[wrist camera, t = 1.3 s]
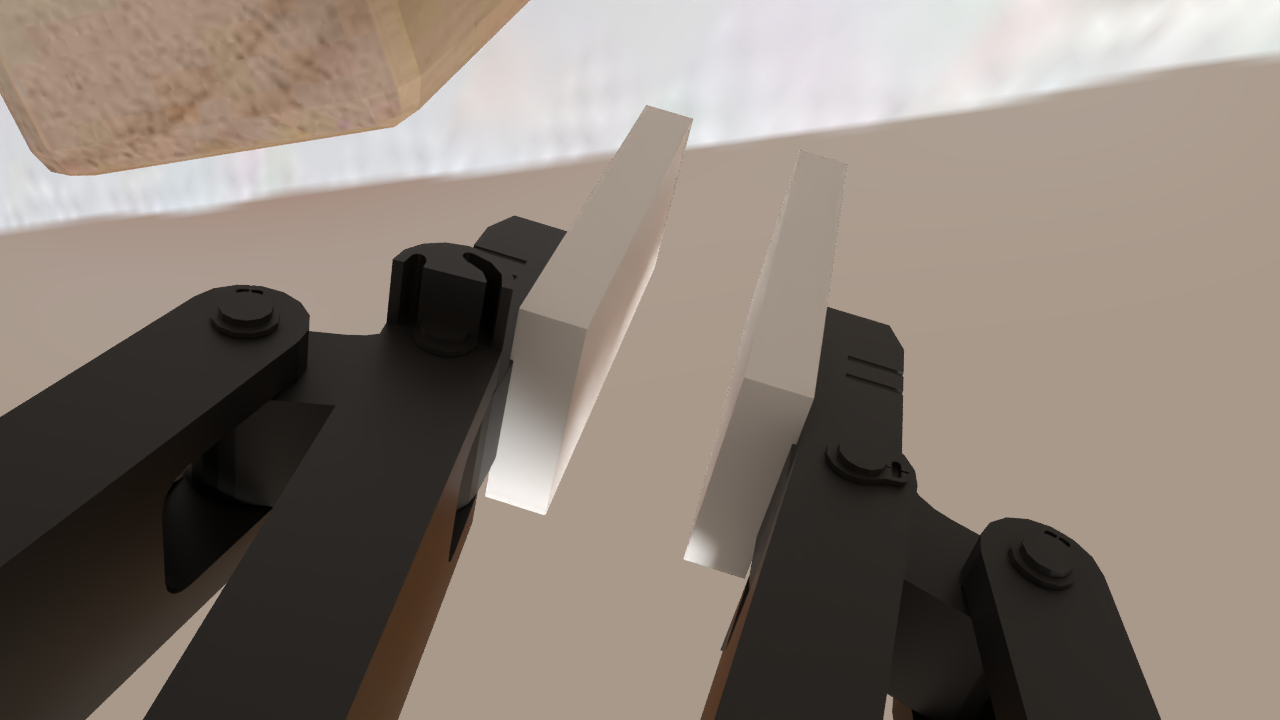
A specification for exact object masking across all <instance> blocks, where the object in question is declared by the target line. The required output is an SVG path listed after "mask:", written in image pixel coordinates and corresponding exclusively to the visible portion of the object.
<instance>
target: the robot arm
mask: <svg viewBox="0 0 1280 720" xmlns="http://www.w3.org/2000/svg"><path fill="white" fill-rule="evenodd" d="M692 121H693V119H692V118H689V117H685V116H682V115H678V114H675V113H671V112H668V111H665V110H661V109H658V108H654V107H651V106H648V105H646V107H645V108H644V110H643V112H642V113H641V115H640V116H639V118H638V120H637V121H636V123H635V124H634V126H633V128H632V129H631V131H630V132H629V134H628V136H627V137H626V139H625V140H624V142H623V143H622V145H621V147H620V148H619V150H618V151H617V153H616V155H615V156H614V158H613V159H612V161H611V163H610V165H609V166H608V168H607V169H606V171H605V172H604V174H603V176H602V177H601V179H600V180H599V182H598V184H597V185H596V187H595V188H594V190H593V191H592V193H591V195H590V196H589V198H588V199H587V201H586V203H585V204H584V206H583V208H582V209H581V210H580V212H579V214H578V215H577V217H576V219H575V220H574V222H573V223H572V225H571V226H570V228H569V230H568V231H564V230H561V229H557V228H554V227H551V226H547V225H544V224H541V223H537V222H534V221H530V220H528V219H524V218H521V217H517V216H512V217H510V218H508V219H506V220H503V221H501V222H499V223H496V224H494V225H492V226H490V227H488V228H487V229H486V230H485V232H484V233H483V234H482V235H481V237H480V238H479V239H478V241H477V242H476V243H475V244H474V247H473V248H472V247H470V246H464V245H458V244H451V243H428V244H421V245H417V246H414V247H411V248H408V249H405V250H403V251H402V252H401V253H400V254H399V255H397V256H396V257H395V258H394V259H393V263H392V273H391V283H390V294H389V303H388V313H387V323H386V325H385V326H384V328H383V329H382V331H381V333H380V334H375V335H366V336H365V335H341V334H332V333H322V332H312V331H309V317H310V315H309V314H308V312H307V311H306V309H305V308H304V307H303V305H302V304H301V303H300V302H299V301H297V300H296V299H294V298H292V297H291V296H289V295H287V294H286V293H284V292H280V291H277V290H273V289H270V288H266V287H263V286H254V285H253V286H249V285H233V286H227V287H220V288H213V289H211V290H209V291H206V292H204V293H202V294H199V295H197V296H194V297H193V298H191V299H189V300H188V301H186V302H185V303H183V304H181V305H180V306H178V307H177V308H175V309H173V310H172V311H170V312H169V313H167V314H165V315H164V316H162V317H161V318H159V319H157V320H156V321H154V322H152V323H151V324H149V325H148V326H146V327H145V328H143V329H141V330H140V331H138V332H136V333H135V334H133V335H132V336H130V337H129V338H127V339H125V340H124V341H122V342H120V343H119V344H117V345H116V346H114V347H112V348H111V349H109V350H107V351H106V352H104V353H103V354H101V355H99V356H98V357H97V358H95V359H93V360H91V361H90V362H88V363H87V364H85V365H83V366H82V367H80V368H79V369H77V370H75V371H74V372H72V373H71V374H69V375H67V376H66V377H64V378H63V379H61V380H59V381H58V382H56V383H55V384H53V385H51V386H50V387H48V388H46V389H45V390H43V391H42V392H40V393H38V394H37V395H35V396H34V397H32V398H30V399H29V400H27V401H26V402H24V403H22V404H21V405H19V406H18V407H16V408H14V409H13V410H11V411H10V412H8V413H6V414H5V415H3V416H1V417H0V720H85V719H86V718H88V717H89V715H91V714H92V713H93V712H94V711H95V710H96V709H97V708H98V707H99V706H100V705H101V704H102V703H103V702H104V701H105V700H106V699H107V698H108V697H109V696H110V695H111V694H112V693H113V692H114V691H115V690H116V689H117V688H119V686H121V685H122V684H123V683H124V682H125V681H126V680H127V679H128V678H129V677H130V676H131V675H132V674H133V673H134V672H135V671H136V670H137V669H138V668H139V667H140V666H141V665H142V664H143V663H144V662H145V661H146V660H147V659H148V658H150V657H151V656H152V654H154V653H155V652H156V651H157V650H158V649H159V648H160V647H161V646H162V645H163V644H164V643H165V642H166V641H167V640H168V639H169V638H170V637H171V636H172V635H173V634H174V633H175V632H176V631H177V630H178V629H179V628H180V627H182V625H184V624H185V623H186V622H187V621H188V619H190V618H191V617H192V616H193V615H194V614H195V613H196V612H197V611H198V610H199V609H200V608H201V607H202V606H203V605H204V604H205V603H206V602H207V601H208V600H209V599H210V598H211V597H213V595H215V594H216V593H217V592H218V591H219V590H220V589H221V588H222V587H223V586H224V585H225V584H226V583H227V584H226V585H225V587H224V588H223V590H222V592H221V594H220V595H219V597H218V598H217V600H216V601H215V603H214V605H213V606H212V608H211V610H210V611H209V613H208V614H207V616H206V618H205V619H204V621H203V623H202V625H201V626H200V628H199V629H198V631H197V633H196V634H195V636H194V638H193V639H192V641H191V642H190V644H189V645H188V647H187V649H186V650H185V652H184V654H183V655H182V657H181V659H180V660H179V662H178V663H177V665H176V667H175V669H174V670H173V672H172V673H171V675H170V676H169V678H168V680H167V681H166V683H165V685H164V686H163V688H162V689H161V691H160V693H159V694H158V696H157V698H156V699H155V701H154V703H153V704H152V706H151V707H150V709H149V711H148V712H147V714H146V716H145V717H144V719H143V720H398V718H399V715H400V713H401V710H402V707H403V705H404V702H405V700H406V697H407V694H408V692H409V689H410V686H411V684H412V681H413V678H414V676H415V673H416V670H417V668H418V665H419V662H420V660H421V657H422V654H423V652H424V649H425V647H426V644H427V641H428V639H429V636H430V633H431V631H432V628H433V625H434V622H435V620H436V617H437V615H438V612H439V609H440V607H441V604H442V601H443V599H444V596H445V593H446V591H447V588H448V585H449V583H450V580H451V577H452V575H453V572H454V569H455V567H456V564H457V562H458V559H459V556H460V553H461V551H462V548H463V546H464V543H465V540H466V538H467V535H468V532H469V530H470V527H471V524H472V521H473V515H474V510H475V504H476V498H477V492H478V490H479V488H480V486H481V484H482V483H483V481H484V479H485V477H486V475H487V473H488V471H489V470H490V472H489V479H488V484H487V490H486V495H485V496H486V497H489V498H492V499H495V500H498V501H501V502H505V503H508V504H511V505H514V506H517V507H521V508H523V509H527V510H530V511H533V512H536V513H539V514H542V515H545V514H546V512H547V510H548V508H549V505H550V503H551V501H552V499H553V496H554V494H555V492H556V490H557V487H558V485H559V483H560V480H561V478H562V476H563V474H564V471H565V469H566V467H567V465H568V462H569V460H570V458H571V455H572V453H573V451H574V449H575V446H576V444H577V442H578V440H579V437H580V435H581V433H582V431H583V428H584V426H585V424H586V422H587V419H588V417H589V415H590V413H591V410H592V408H593V406H594V404H595V401H596V399H597V397H598V394H599V392H600V390H601V388H602V385H603V383H604V381H605V379H606V376H607V374H608V372H609V369H610V367H611V365H612V363H613V360H614V358H615V356H616V354H617V351H618V349H619V347H620V345H621V342H622V340H623V338H624V336H625V333H626V331H627V329H628V326H629V324H630V322H631V319H632V318H633V315H634V313H635V311H636V309H637V306H638V304H639V302H640V299H641V297H642V295H643V293H644V290H645V288H646V286H647V283H648V281H649V279H650V276H651V275H652V272H653V270H654V268H655V264H656V260H657V256H658V252H659V249H660V244H661V241H662V237H663V233H664V229H665V225H666V221H667V218H668V214H669V210H670V206H671V202H672V198H673V194H674V190H675V186H676V183H677V179H678V175H679V171H680V167H681V163H682V159H683V156H684V152H685V148H686V144H687V140H688V136H689V132H690V128H691V125H692ZM846 170H847V164H846V163H842V162H839V161H835V160H832V159H829V158H825V157H822V156H818V155H815V154H812V153H808V152H805V151H801V150H800V152H799V155H798V158H797V161H796V164H795V168H794V171H793V174H792V177H791V180H790V183H789V187H788V189H787V192H786V195H785V199H784V202H783V205H782V208H781V211H780V214H779V217H778V220H777V223H776V226H775V229H774V232H773V236H772V239H771V242H770V245H769V248H768V251H767V254H766V257H765V260H764V263H763V266H762V270H761V273H760V276H759V279H758V282H757V285H756V288H755V291H754V294H753V298H752V301H751V305H750V309H749V313H748V316H747V320H746V324H745V328H744V332H743V335H742V339H741V343H740V347H739V351H738V354H737V358H736V362H735V366H734V370H733V373H732V377H731V381H730V385H729V389H728V392H727V396H726V400H725V404H724V408H723V411H722V415H721V419H720V422H719V426H718V430H717V434H716V438H715V442H714V445H713V449H712V453H711V457H710V460H709V464H708V468H707V472H706V476H705V479H704V483H703V487H702V491H701V494H700V498H699V502H698V506H697V510H696V513H695V518H694V521H693V525H692V529H691V532H690V536H689V540H688V544H687V548H686V551H685V555H684V560H687V561H690V562H694V563H697V564H700V565H703V566H706V567H709V568H713V569H716V570H719V571H722V572H725V573H728V574H731V575H735V576H738V577H741V578H745V576H746V574H747V571H748V569H749V566H750V563H751V561H752V565H751V570H750V576H749V578H748V581H747V583H746V586H745V589H744V591H743V593H742V596H741V599H740V601H739V604H738V606H737V609H736V611H735V614H734V617H733V619H732V622H731V625H730V627H729V630H728V632H727V635H726V637H725V640H724V643H723V646H722V648H721V650H722V651H723V652H722V655H721V658H720V662H719V665H718V668H717V671H716V674H715V677H714V680H713V683H712V686H711V689H710V692H709V695H708V698H707V701H706V705H705V708H704V711H703V713H702V717H701V720H883V716H884V709H885V703H886V696H887V694H889V695H890V696H892V697H893V708H892V714H893V720H1161V718H1160V716H1159V713H1158V711H1157V708H1156V705H1155V703H1154V700H1153V698H1152V695H1151V693H1150V690H1149V688H1148V685H1147V683H1146V680H1145V678H1144V675H1143V673H1142V670H1141V668H1140V665H1139V663H1138V660H1137V658H1136V655H1135V653H1134V650H1133V648H1132V645H1131V643H1130V640H1129V637H1128V635H1127V632H1126V630H1125V628H1124V625H1123V622H1122V620H1121V617H1120V615H1119V612H1118V610H1117V607H1116V605H1115V602H1114V600H1113V597H1112V595H1111V592H1110V590H1109V587H1108V585H1107V582H1106V580H1105V577H1104V575H1103V573H1102V572H1101V570H1100V569H1099V567H1098V566H1097V564H1096V562H1095V561H1094V559H1093V557H1092V556H1090V555H1089V554H1088V553H1087V552H1086V551H1085V550H1084V549H1083V548H1082V547H1081V546H1080V545H1079V544H1077V543H1076V542H1075V541H1074V540H1073V539H1071V538H1069V537H1067V536H1066V535H1065V534H1063V533H1061V532H1059V531H1057V530H1056V529H1054V528H1052V527H1050V526H1047V525H1044V524H1041V523H1038V522H1035V521H1032V520H1029V519H1020V518H1004V519H1000V520H997V521H994V522H991V523H989V525H988V526H987V527H986V528H985V529H984V531H983V532H982V533H981V535H978V534H977V533H975V532H973V531H971V530H969V529H968V528H966V527H964V526H962V525H960V524H958V523H957V522H955V521H953V520H951V519H949V518H948V517H946V516H945V515H943V514H941V513H940V512H938V511H937V510H935V509H934V508H933V507H931V506H930V505H929V504H928V503H927V502H926V501H925V500H924V499H922V498H921V497H920V496H919V495H918V493H917V480H916V474H915V470H914V469H913V467H912V466H911V464H910V463H909V461H908V460H907V458H906V457H905V456H904V455H903V454H902V421H903V395H902V392H903V376H902V375H903V371H904V368H903V367H904V349H903V347H902V346H901V344H900V343H899V341H898V339H897V337H896V336H895V334H894V333H893V331H892V329H891V327H890V326H889V325H886V324H883V323H878V322H876V321H872V320H869V319H866V318H863V317H859V316H856V315H852V314H849V313H846V312H843V311H839V310H836V309H832V308H829V307H827V304H828V297H829V290H830V283H831V276H832V268H833V262H834V255H835V248H836V240H837V234H838V227H839V219H840V213H841V206H842V198H843V191H844V184H845V178H846ZM752 558H753V559H752Z"/></svg>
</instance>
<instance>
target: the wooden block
mask: <svg viewBox="0 0 1280 720" xmlns="http://www.w3.org/2000/svg"><path fill="white" fill-rule="evenodd" d="M529 1H530V0H0V94H1V95H2V97H3V99H4V101H5V103H6V105H7V107H8V109H9V111H10V113H11V114H12V116H13V118H14V120H15V122H16V124H17V126H18V128H19V130H20V132H21V134H22V135H23V137H24V139H25V141H26V143H27V145H28V147H29V149H30V151H31V152H32V153H33V154H34V155H35V156H36V157H37V158H38V159H39V160H40V161H41V162H42V163H43V164H44V165H45V166H46V167H47V168H48V169H49V170H50V171H51V172H55V173H60V174H65V175H70V176H81V175H99V174H106V173H112V172H118V171H124V170H130V169H137V168H143V167H149V166H155V165H161V164H168V163H174V162H180V161H186V160H192V159H199V158H205V157H211V156H217V155H223V154H229V153H236V152H242V151H248V150H254V149H260V148H267V147H273V146H279V145H285V144H291V143H298V142H304V141H310V140H316V139H322V138H329V137H335V136H341V135H347V134H353V133H360V132H366V131H372V130H378V129H384V128H390V127H395V126H396V125H398V124H399V123H400V122H402V121H403V120H405V119H406V118H408V117H409V116H410V115H412V114H413V113H415V112H416V111H417V110H419V109H420V108H421V107H422V106H423V105H424V104H425V103H426V102H427V101H428V100H429V99H430V98H431V97H432V96H433V95H434V94H435V93H436V92H437V91H438V90H439V89H440V88H441V87H442V86H443V85H444V84H445V83H446V82H447V81H448V80H449V79H450V78H451V77H452V76H453V75H454V74H455V73H457V72H458V71H459V70H460V69H461V68H462V67H463V66H464V65H465V64H466V63H467V62H468V61H469V60H470V59H471V58H472V57H473V56H474V55H475V54H476V53H477V52H478V51H479V50H480V49H481V48H482V47H483V46H484V45H485V44H486V43H487V42H488V41H489V40H490V39H491V38H492V37H493V36H494V35H495V34H496V33H497V32H498V31H499V30H500V29H501V28H502V27H503V26H504V25H505V24H506V23H507V22H508V21H509V20H510V19H511V18H512V17H513V16H514V15H515V14H516V13H517V12H518V11H519V10H521V9H522V8H523V7H524V6H525V5H526V4H527V3H528V2H529Z"/></svg>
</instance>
